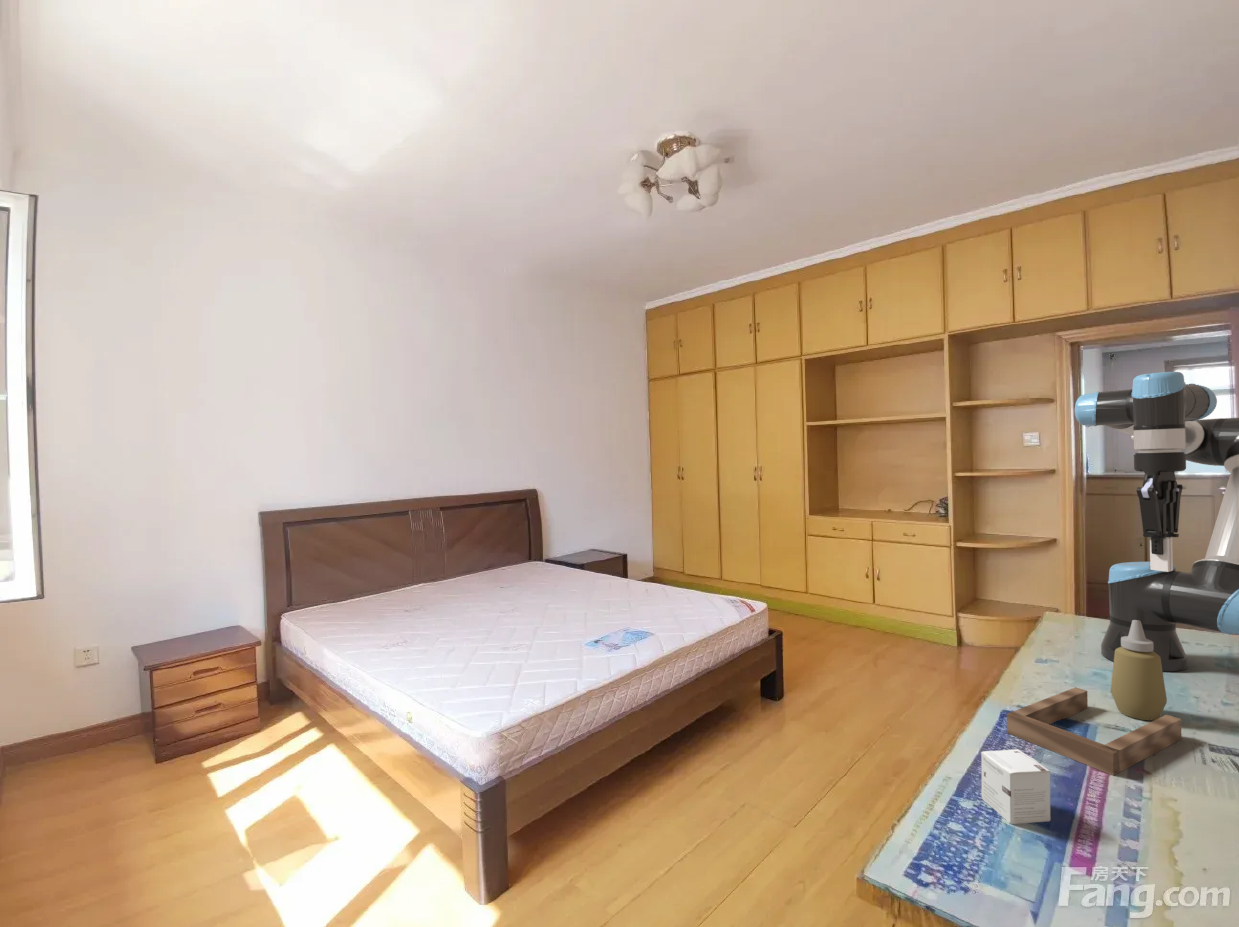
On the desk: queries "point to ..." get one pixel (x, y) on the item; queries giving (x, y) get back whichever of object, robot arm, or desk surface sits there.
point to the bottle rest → (1107, 758)
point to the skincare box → (1016, 786)
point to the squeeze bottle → (1138, 677)
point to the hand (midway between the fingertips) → (1161, 569)
